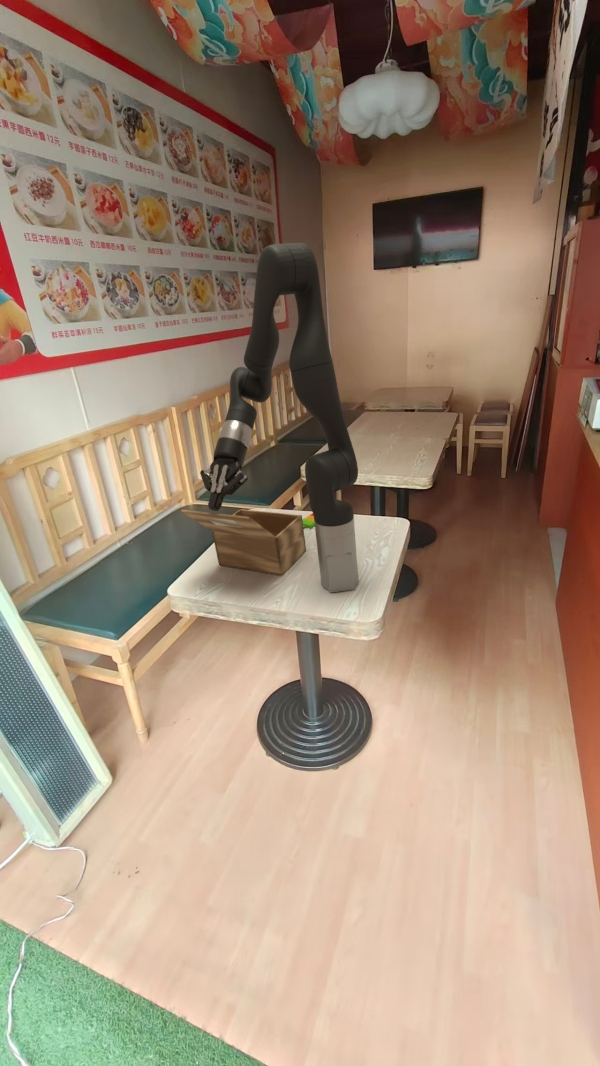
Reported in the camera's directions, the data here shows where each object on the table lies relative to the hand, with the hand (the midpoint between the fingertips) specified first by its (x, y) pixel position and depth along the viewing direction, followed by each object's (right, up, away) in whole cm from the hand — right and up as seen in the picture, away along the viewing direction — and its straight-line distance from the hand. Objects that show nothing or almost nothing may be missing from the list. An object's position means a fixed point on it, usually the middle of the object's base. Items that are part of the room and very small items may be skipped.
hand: (213, 509), depth 121 cm
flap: (+3, -3, +6) cm, 8 cm away
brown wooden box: (+10, -13, +22) cm, 28 cm away
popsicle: (+23, -4, +39) cm, 46 cm away
